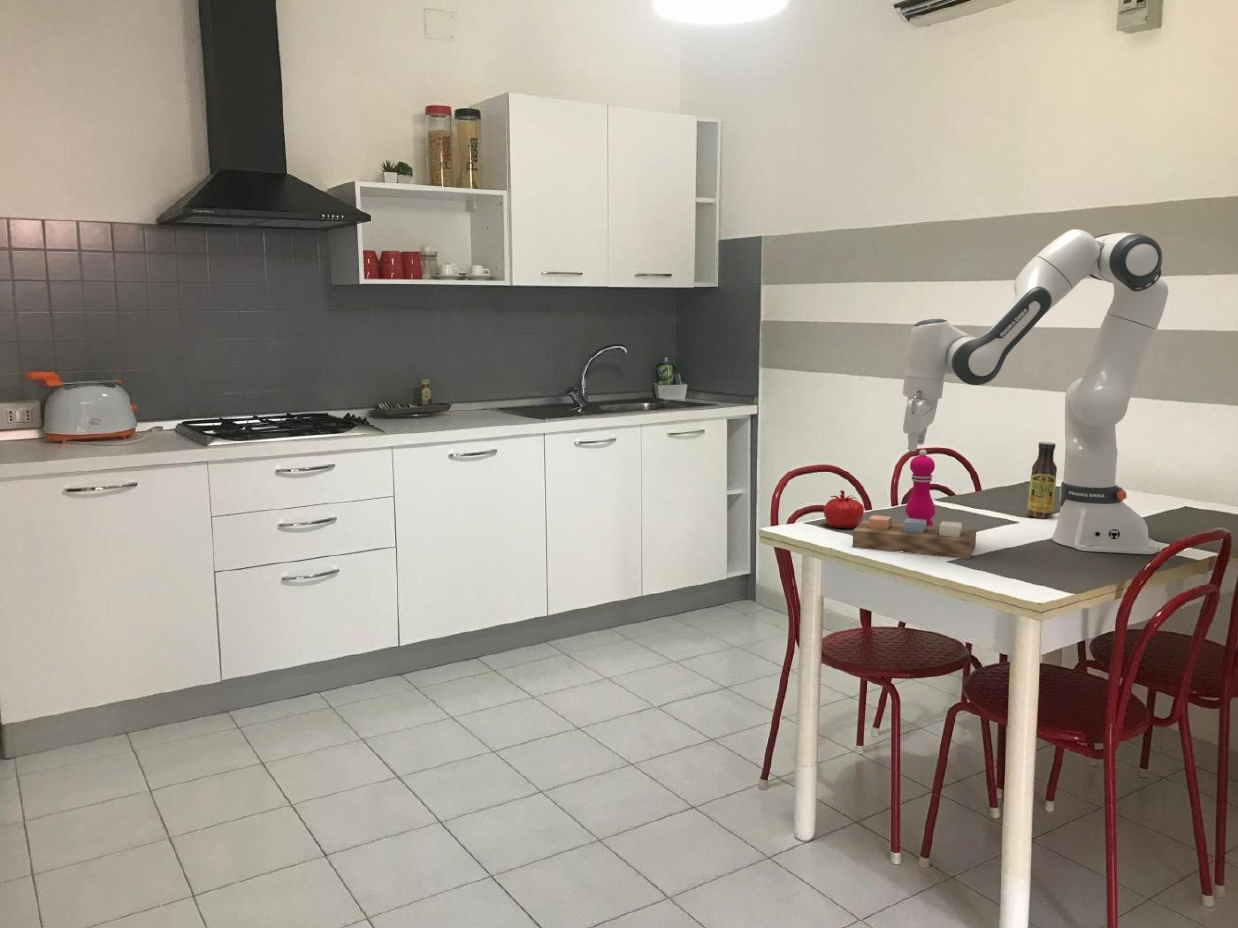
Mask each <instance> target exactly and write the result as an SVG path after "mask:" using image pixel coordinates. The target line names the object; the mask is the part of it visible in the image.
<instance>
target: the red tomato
mask: <svg viewBox="0 0 1238 928" xmlns="http://www.w3.org/2000/svg"><path fill="white" fill-rule="evenodd" d="M839 493H840V494H839V496H838V495H830V498H831V499H830V500H828V501H827V502H826V503H825V505H824V508H823V516H824V518H825V522H826V524H827V526H828V527H832V528H836V529H837V528H838V529H853V528H854V529H855V528H856V527H857V526H858V525H859V524H860V523H861V522H862V520H864V511H865V507H864V505H863V504H862V503H861V502H860V501H858V500H859V498H856V497H854V496H851V495H848V496H845V490H840V491H839Z"/></svg>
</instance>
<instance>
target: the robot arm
mask: <svg viewBox="0 0 1238 928" xmlns="http://www.w3.org/2000/svg"><path fill="white" fill-rule="evenodd" d="M1162 252H1163V251H1162V249H1161V246H1160V245H1159V244H1158V242H1157V241H1156V240H1154V239H1153V238H1152V237H1150V236H1148V235H1145V234H1142V233H1132V232H1125V231H1124V232H1117V233H1104V234H1103V233H1102V234H1101V235H1097V236H1093V235H1092V234H1090V233H1089V232H1087V231H1086V230H1082V229H1078V228H1074V229H1070V230H1067V231H1066V232H1064V233H1062V234H1061V235H1059V236H1058V237H1057V238H1055V239H1053V241H1051V242H1050V243H1049V244H1047V245H1046V246H1045V247H1044V248H1043V249H1042V250H1040V251H1039V252H1038V253H1037V254H1036V255H1035V256H1034V257H1033V258H1032V259H1031V260H1030V261H1029V262H1027V264H1026V265H1025V266H1024V267H1023V268H1022V270H1021V271H1020V273H1019V274H1018V275H1017V277H1016V278H1015V280H1014V286H1013V287H1014V294H1015V295H1014V301H1013V303H1012V305H1011V306H1010V308H1009V309H1008V310H1007V311H1006V312H1005V313H1004V314H1003V315H1002V316H1001V317H1000V319H998V320H997V322H996V323H994V325H993V326H992V327H990V329H989V330H988V331H987V332H986V333H983V335H981V336H978V337H976V336H973V335H971V334H968V333H966V332H964V331H962V330H960V329H959V328H957V327H955V326H953V325H952V324H951V323H949V321H948V320H947V319H943V318H930V319H924V320H920V321H918V322H916V323H915V324H914V325H913V327H912V329H911V332H910V336H909V340H908V346H907V351H906V352H907V353H906V360H907V367H906V370H905V373H904V376H903V377H904V379H903V386H902V387H903V388H902V395H903V396H904V397H907V401H906V407H905V411H904V420H903V429H902V431H903V433H904V434H908V435H907V441H908V445H907V450H908V451H909V452H916V451H917V449H918V445H920V446H922V445H924V443H925V439H926V434H927V431H928V428H929V426H930V425H931V424H933V422H934V420H935V416H936V412H937V407H938V403H939V400H940V399H942V398H943V392H944V391H943V390H944V382H945V376H946V375H948V374H950V375H951V374H952V375H953V376H955V377H957V378H958V379H959V380H960V381H962V382H963V383H965V384H967V385H970V386H981V385H985V384H988V383H989V382H991V381H992V380H993V379H995V378H996V377H997V375H998V374H999V372H1000V371H1001V369H1002V366H1003V364H1004V362H1005V360H1006V358H1007V356H1009V353H1010V352H1011V351H1012V350H1013V349H1014V348H1015V346H1016V345H1017V344H1018V343H1019V342H1021V340H1022V339H1023V338H1024V337H1025V336H1026V335H1027V334H1028V333H1029V332H1030V331H1031V330H1032V329H1033V328H1034V327H1035V326H1036V324H1037V323H1038V322H1039V321H1040V320H1041V319H1042V317H1044V315H1046V314H1047V313H1048V312H1049V311H1050V310H1051V309H1052V308H1054V307H1055V306H1056V305H1057V304H1059V302H1060V301H1061V300H1062V299H1064V298H1065V297H1066V296H1067V295H1068V294H1069V293H1070V292H1071V291H1073V290H1074V288H1075V287H1076V286H1077V285H1078V284H1079V283H1080V282H1081V281H1083V280H1084V279H1085V278H1087V277H1091V278H1093V279H1095V280H1097V281H1098V280H1099V281H1103V282H1108V283H1111V284H1112V285H1113V298H1112V302H1111V303H1110V305H1109V307H1108V309H1107V311H1106V314H1105V315H1104V318H1103V320H1102V322H1101V325H1100V326H1099V329H1098V331H1097V335H1096V336H1095V339H1094V340H1093V343H1092V345H1091V348H1090V352H1089V353H1090V354H1089V357H1088V360H1087V363H1086V364H1087V365H1086V367H1085V369H1084V373H1083V376H1082V377H1080V378H1078V379H1076V380H1075V381H1073V382H1072V383H1071V384H1070V385H1069V386H1068V388H1067V390H1066V393H1065V397H1064V437H1065V438H1064V439H1065V444H1064V445H1065V453H1064V467H1063V468H1064V469H1063V480H1062V481H1061V483H1060V488H1059V505H1060V508H1059V515H1058V518H1057V522H1056V527H1055V530H1054V532H1053V535H1052V537H1051V540H1052V541H1053V542H1054V543H1057V544H1059V545H1063V546H1067V547H1070V548H1073V549H1076V550H1078V551H1083V552H1095V553H1096V552H1099V553H1115V554H1117V553H1118V554H1119V553H1120V554H1132V555H1133V554H1136V555H1137V554H1138V555H1154V554H1156V553H1158V551H1159V544H1158V542H1157V541H1155V540H1154V539H1152V538H1149V528H1148V526H1147V523H1146V521H1145V519H1144V518H1143V516H1141V515H1140V514H1139V513H1137V512H1136V511H1135V510H1133V509H1132V508H1131V507H1130V506H1129V505H1128V504H1126V503H1125V502H1124V500H1125V499H1126V498H1127V492H1126V490H1124V489H1123V487H1120V486H1118V485H1117V484H1116V476H1117V464H1118V463H1117V462H1118V447H1117V445H1118V444H1117V435H1116V434H1117V431H1116V424H1119V423H1120V421H1122V420H1123V418H1124V417H1125V416H1126V414H1127V411H1128V406H1129V403H1130V400H1131V397H1132V395H1133V391H1134V389H1135V386H1136V385H1135V384H1136V383H1137V379H1138V375H1139V371H1140V368H1141V365H1142V363H1143V361H1144V358H1145V356H1146V354H1147V352H1148V349H1149V347H1150V345H1151V342H1153V341H1152V340H1153V338H1154V336H1155V334H1156V332H1157V329H1158V327H1159V325H1160V322H1161V319H1162V317H1163V314H1164V311H1165V307H1166V304H1167V300H1168V297H1169V287H1168V284H1167V282H1165V280H1163V279H1162V278H1160V277H1161V275H1162V264H1163V254H1162Z"/></svg>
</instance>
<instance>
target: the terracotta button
mask: <svg viewBox="0 0 1238 928" xmlns="http://www.w3.org/2000/svg"><path fill="white" fill-rule="evenodd" d="M868 520H869V529H879V530H890V529H891V523H892V516H888V515H886V516H885V515H877V514H876V515H875V514H873V515H871V516H870V517H869V518H868Z"/></svg>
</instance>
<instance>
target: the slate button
mask: <svg viewBox="0 0 1238 928" xmlns="http://www.w3.org/2000/svg"><path fill="white" fill-rule="evenodd" d="M903 524H904V528H903V532H911V533H921V534H925V532H926V520H922V519H911V518H909V517H907V518H905V520H904V521H903Z"/></svg>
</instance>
